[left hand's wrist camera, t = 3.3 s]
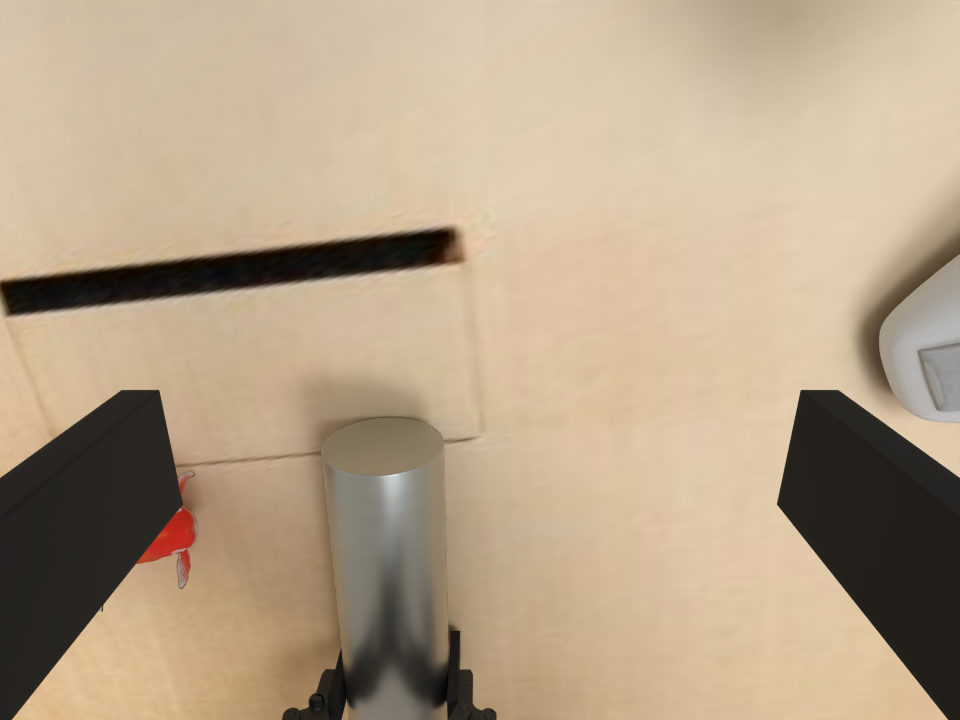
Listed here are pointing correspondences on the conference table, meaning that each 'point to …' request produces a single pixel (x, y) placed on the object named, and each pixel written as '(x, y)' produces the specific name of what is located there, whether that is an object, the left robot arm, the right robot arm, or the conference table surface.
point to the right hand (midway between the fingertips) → (403, 642)
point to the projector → (926, 347)
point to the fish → (175, 538)
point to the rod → (390, 566)
